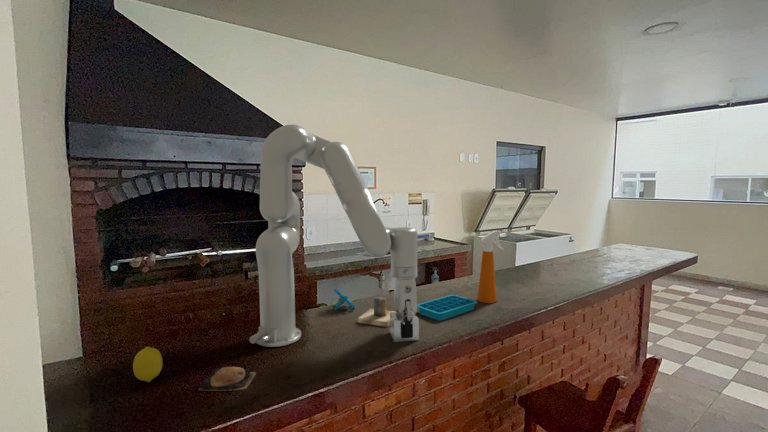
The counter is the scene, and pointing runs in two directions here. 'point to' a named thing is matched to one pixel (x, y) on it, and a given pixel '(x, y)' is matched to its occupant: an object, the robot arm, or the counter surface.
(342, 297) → the gear
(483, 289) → the spray bottle
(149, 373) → the lemon
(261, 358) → the counter surface
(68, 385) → the counter surface
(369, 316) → the keyed post stand
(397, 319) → the grey hollow block
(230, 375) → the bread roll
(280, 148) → the robot arm
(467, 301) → the ice cube tray
